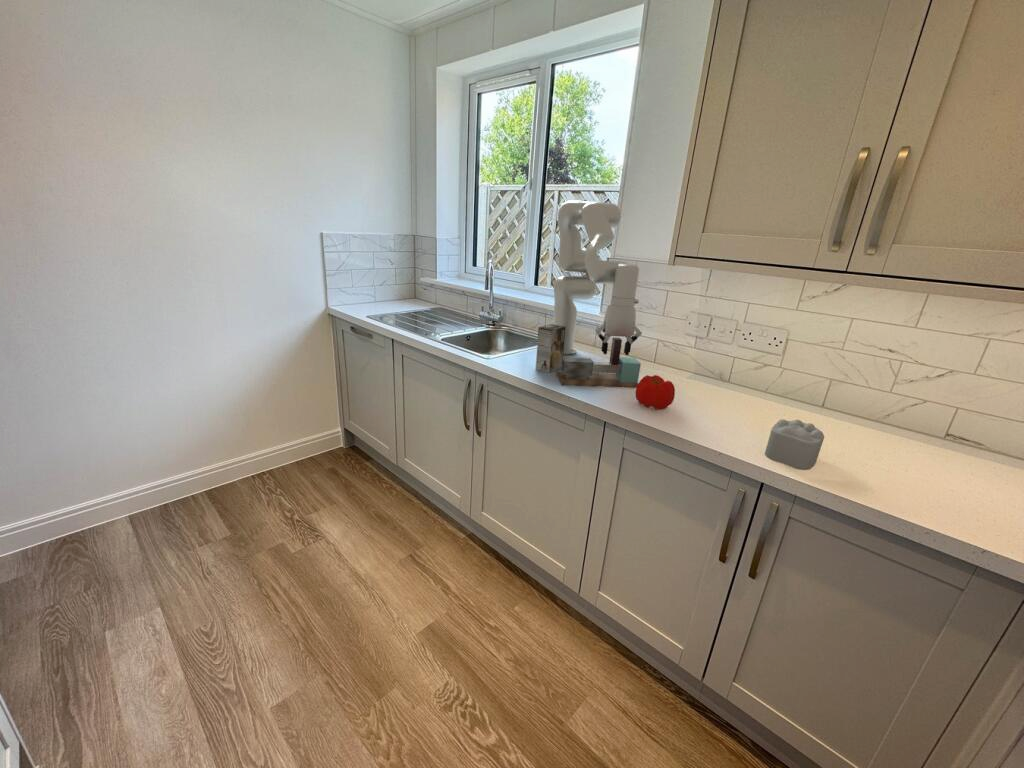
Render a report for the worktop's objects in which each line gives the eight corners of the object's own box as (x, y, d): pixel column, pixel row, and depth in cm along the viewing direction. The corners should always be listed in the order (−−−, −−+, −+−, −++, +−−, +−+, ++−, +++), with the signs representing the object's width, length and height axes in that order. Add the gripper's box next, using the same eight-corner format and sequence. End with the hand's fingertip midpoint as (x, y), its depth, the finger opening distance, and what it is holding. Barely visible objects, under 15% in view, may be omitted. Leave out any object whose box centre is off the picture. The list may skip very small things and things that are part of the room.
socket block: (620, 382, 154) (623, 362, 152) (615, 375, 160) (617, 357, 158) (637, 382, 154) (640, 363, 152) (631, 376, 161) (634, 357, 159)
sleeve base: (561, 385, 150) (563, 364, 148) (556, 373, 162) (558, 354, 159) (639, 388, 152) (642, 367, 150) (629, 376, 164) (632, 357, 161)
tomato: (627, 400, 141) (631, 373, 138) (660, 399, 144) (665, 372, 141) (644, 414, 131) (649, 385, 128) (680, 412, 134) (685, 383, 131)
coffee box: (548, 364, 172) (551, 323, 167) (562, 368, 169) (566, 326, 164) (534, 369, 166) (538, 326, 160) (549, 373, 162) (553, 330, 157)
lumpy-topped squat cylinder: (760, 456, 110) (768, 424, 107) (776, 441, 119) (785, 411, 116) (807, 473, 103) (818, 439, 100) (822, 456, 112) (832, 425, 109)
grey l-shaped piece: (586, 372, 154) (590, 338, 150) (584, 369, 157) (588, 336, 153) (631, 374, 155) (636, 340, 151) (628, 371, 158) (633, 338, 154)
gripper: (644, 301, 152) (636, 351, 158) (594, 299, 151) (588, 349, 157) (651, 305, 145) (643, 357, 151) (599, 302, 144) (593, 355, 150)
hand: (615, 353), depth 154 cm, fingers open, 7 cm apart
